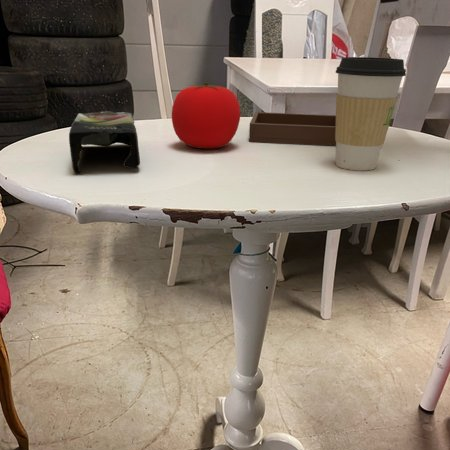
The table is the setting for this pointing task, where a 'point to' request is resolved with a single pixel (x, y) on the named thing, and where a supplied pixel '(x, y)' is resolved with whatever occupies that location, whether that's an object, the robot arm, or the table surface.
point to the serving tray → (293, 128)
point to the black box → (104, 134)
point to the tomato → (205, 116)
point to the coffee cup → (364, 108)
